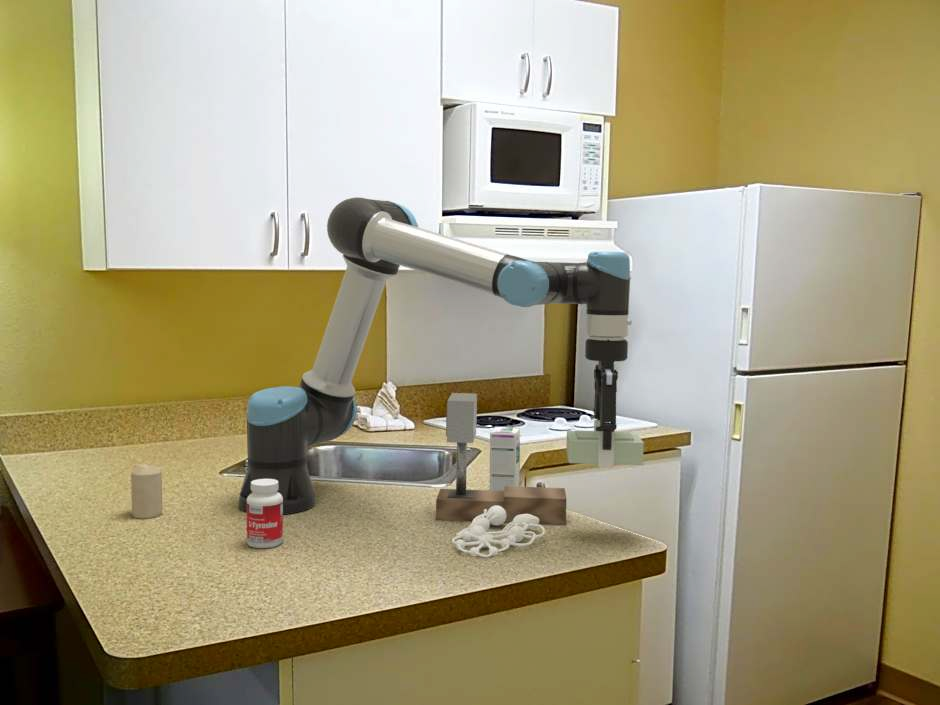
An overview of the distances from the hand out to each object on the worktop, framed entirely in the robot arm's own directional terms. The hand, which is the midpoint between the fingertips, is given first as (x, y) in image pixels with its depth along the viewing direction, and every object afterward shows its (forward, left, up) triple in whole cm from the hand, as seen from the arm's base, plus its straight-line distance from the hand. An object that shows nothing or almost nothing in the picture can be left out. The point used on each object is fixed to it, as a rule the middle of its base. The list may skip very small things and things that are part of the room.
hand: (603, 460), depth 153 cm
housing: (-18, +10, -14) cm, 25 cm away
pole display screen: (-27, +10, -10) cm, 30 cm away
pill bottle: (-59, -12, -14) cm, 62 cm away
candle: (-87, +2, -14) cm, 88 cm away
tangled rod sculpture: (-18, -5, -15) cm, 24 cm away
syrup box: (-18, +25, -14) cm, 34 cm away
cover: (0, 0, 0) cm, 0 cm away
